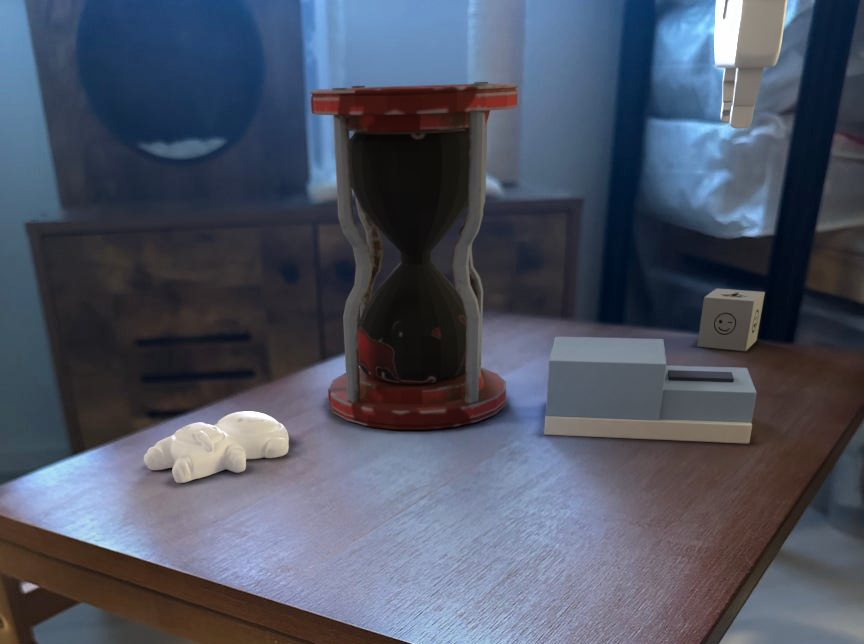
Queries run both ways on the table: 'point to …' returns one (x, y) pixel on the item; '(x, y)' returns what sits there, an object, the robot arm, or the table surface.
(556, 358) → the stepped block with slot
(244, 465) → the astronaut figurine
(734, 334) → the beige smiley face cube
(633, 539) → the table surface
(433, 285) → the hourglass
